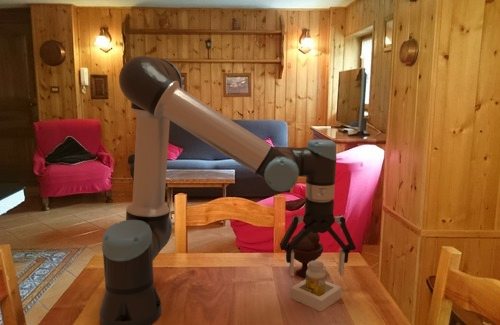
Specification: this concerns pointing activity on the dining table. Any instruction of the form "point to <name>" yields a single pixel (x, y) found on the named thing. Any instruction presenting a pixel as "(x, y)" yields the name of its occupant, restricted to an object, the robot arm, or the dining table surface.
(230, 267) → the dining table surface
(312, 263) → the supplement bottle
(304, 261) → the ice cream bowl
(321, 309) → the holder
